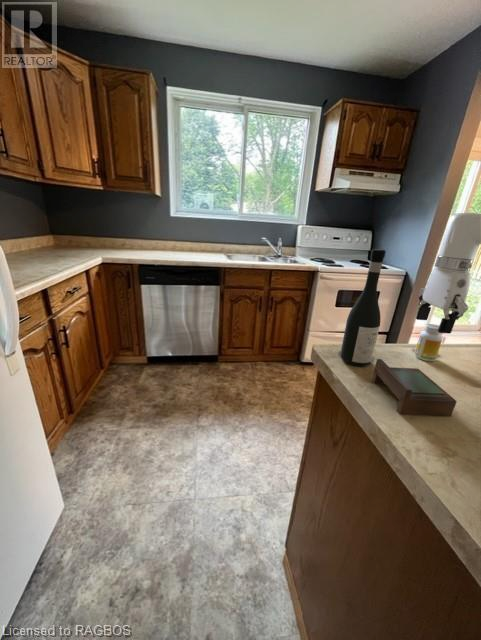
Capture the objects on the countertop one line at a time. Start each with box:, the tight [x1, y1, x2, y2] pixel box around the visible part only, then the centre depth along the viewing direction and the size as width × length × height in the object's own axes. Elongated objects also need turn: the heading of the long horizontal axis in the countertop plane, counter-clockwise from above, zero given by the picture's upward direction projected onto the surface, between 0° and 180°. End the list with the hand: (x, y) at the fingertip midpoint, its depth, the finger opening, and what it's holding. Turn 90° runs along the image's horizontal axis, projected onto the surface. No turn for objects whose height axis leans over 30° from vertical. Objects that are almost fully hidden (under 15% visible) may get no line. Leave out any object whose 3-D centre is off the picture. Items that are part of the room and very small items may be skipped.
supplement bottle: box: [413, 323, 444, 362], centre depth 77 cm, size 5×5×10 cm
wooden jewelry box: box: [370, 358, 458, 418], centre depth 57 cm, size 10×12×7 cm
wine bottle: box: [340, 248, 387, 367], centre depth 70 cm, size 8×8×30 cm
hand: (431, 325), depth 76 cm, fingers open, 9 cm apart
